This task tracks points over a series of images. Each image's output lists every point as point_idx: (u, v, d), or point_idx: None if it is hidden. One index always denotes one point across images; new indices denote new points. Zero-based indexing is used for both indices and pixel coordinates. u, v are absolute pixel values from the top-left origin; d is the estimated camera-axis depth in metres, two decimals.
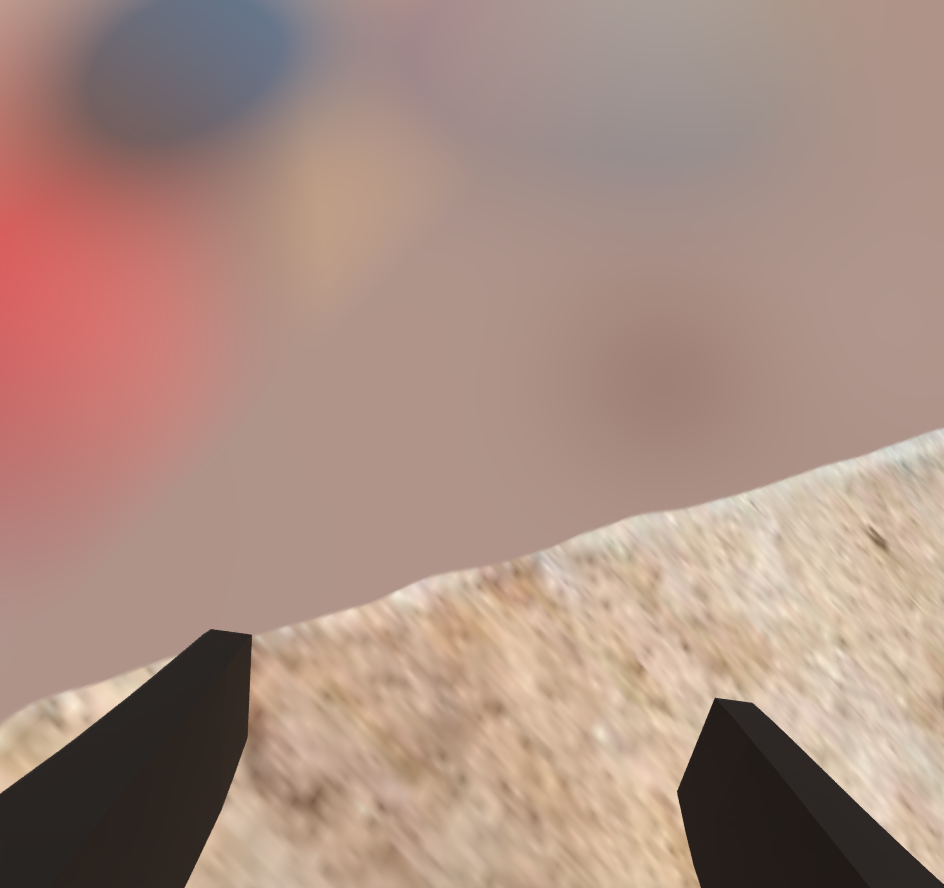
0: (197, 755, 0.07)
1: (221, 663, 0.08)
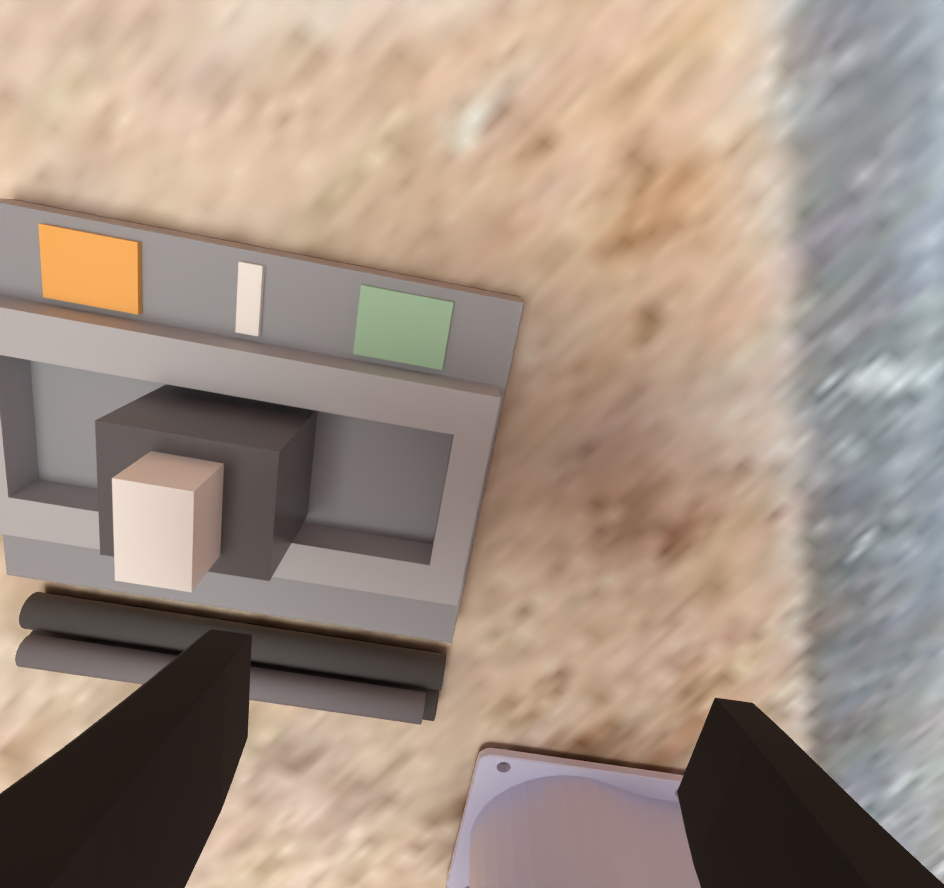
0: (197, 755, 0.07)
1: (221, 663, 0.08)
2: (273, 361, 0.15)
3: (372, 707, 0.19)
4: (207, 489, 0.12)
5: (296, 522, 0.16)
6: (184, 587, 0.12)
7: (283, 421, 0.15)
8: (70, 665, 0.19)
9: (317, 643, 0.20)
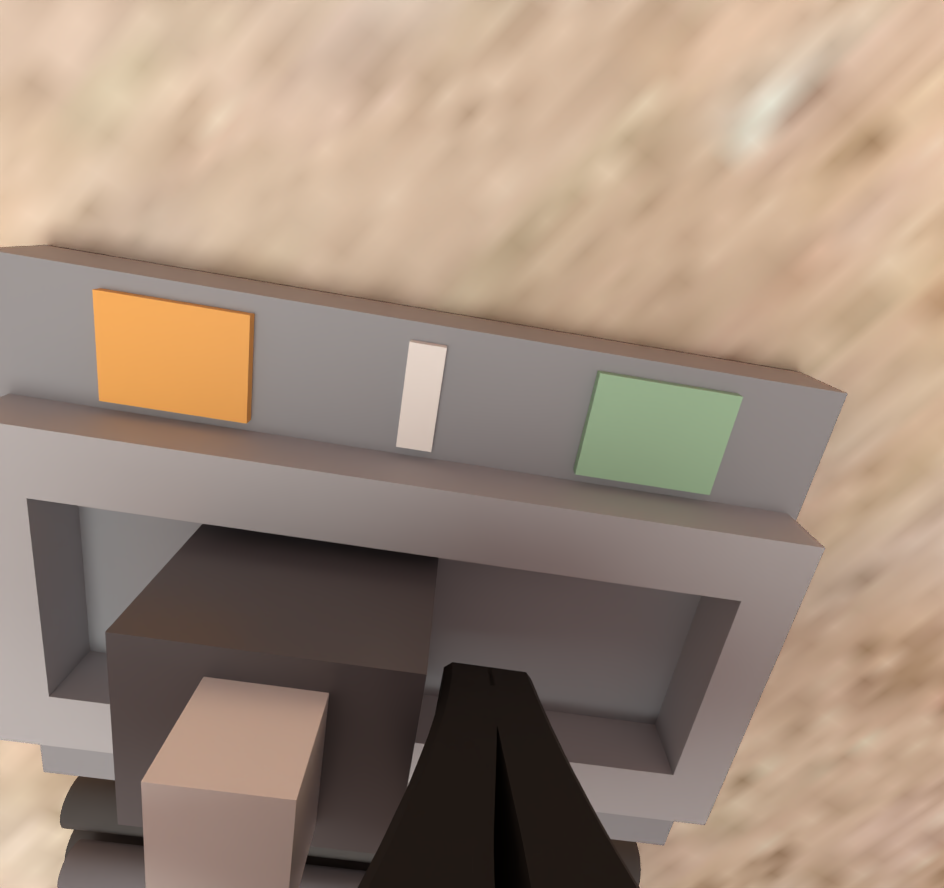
0: None
1: (489, 699, 0.08)
2: (470, 501, 0.09)
3: None
4: (311, 764, 0.07)
5: None
6: None
7: (404, 583, 0.09)
8: None
9: None
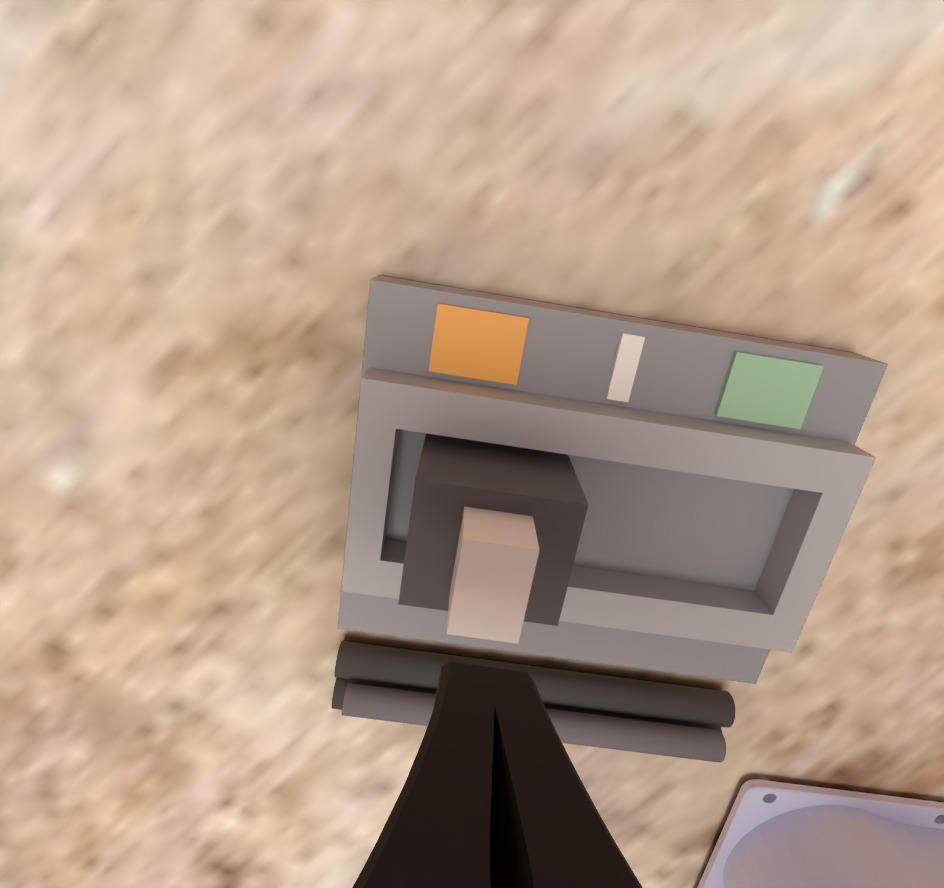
0: None
1: (486, 698, 0.08)
2: (661, 429, 0.15)
3: (677, 747, 0.20)
4: None
5: None
6: (512, 639, 0.13)
7: (556, 469, 0.15)
8: (393, 713, 0.19)
9: (611, 685, 0.21)
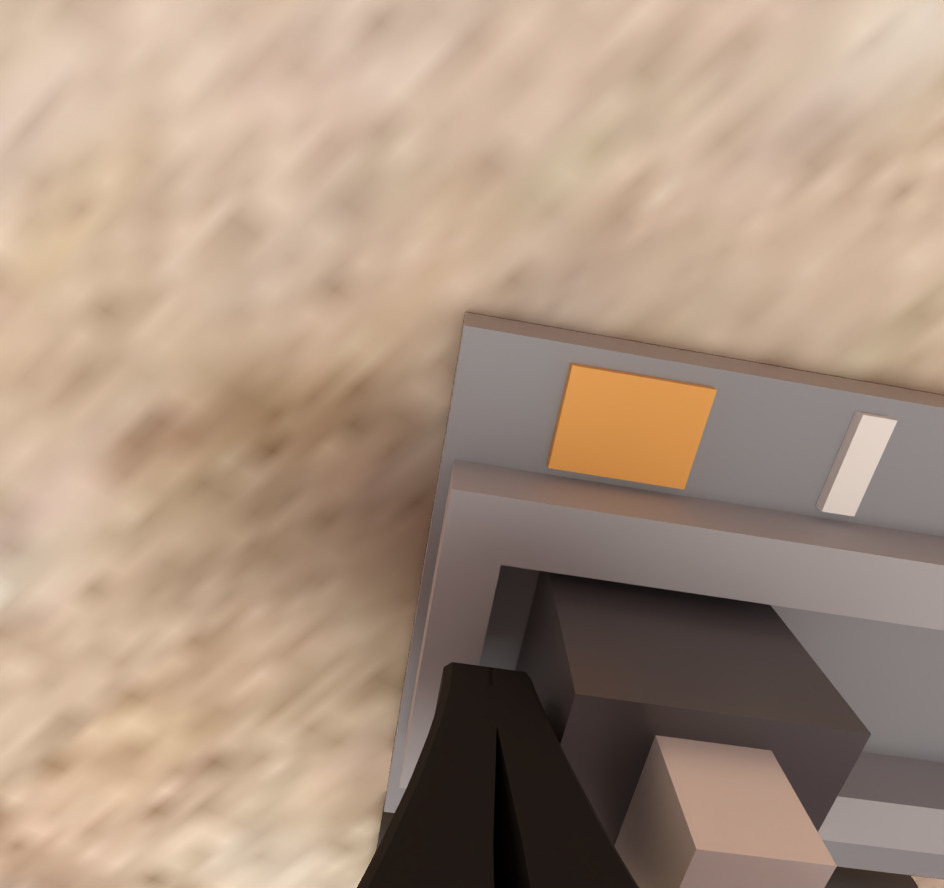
0: None
1: (489, 699, 0.08)
2: (925, 569, 0.10)
3: None
4: (796, 824, 0.07)
5: None
6: None
7: (767, 634, 0.09)
8: None
9: None
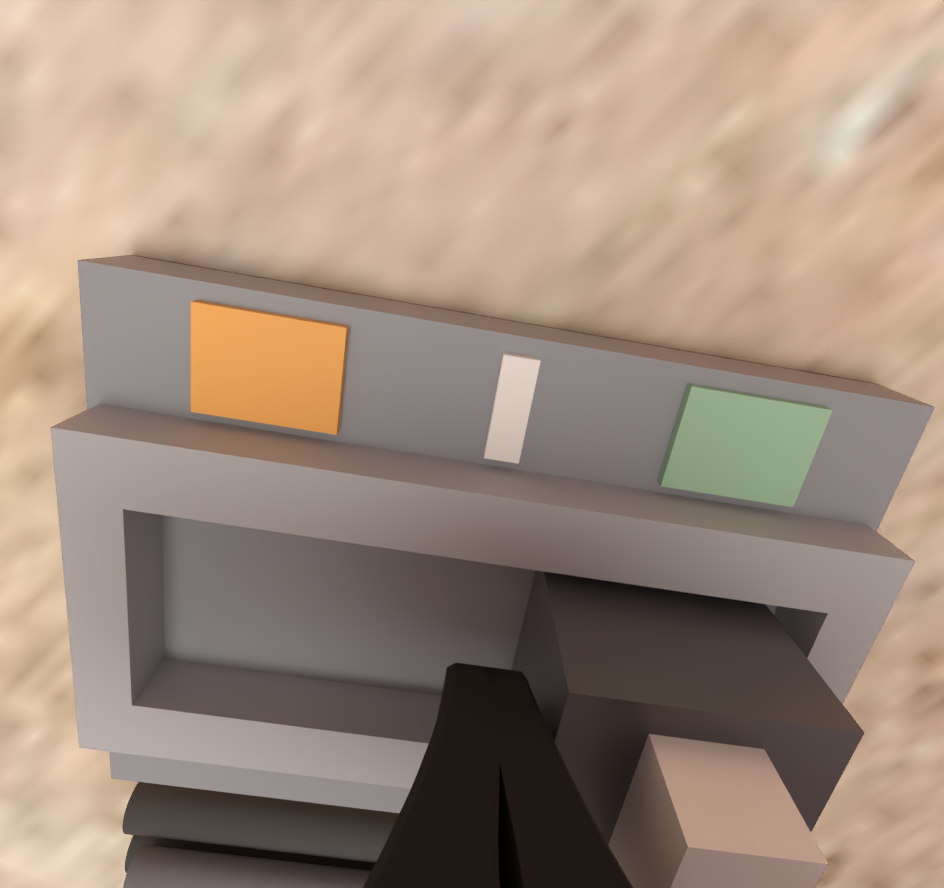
0: None
1: (492, 699, 0.08)
2: (565, 513, 0.09)
3: None
4: (789, 822, 0.07)
5: None
6: None
7: (762, 633, 0.09)
8: None
9: None
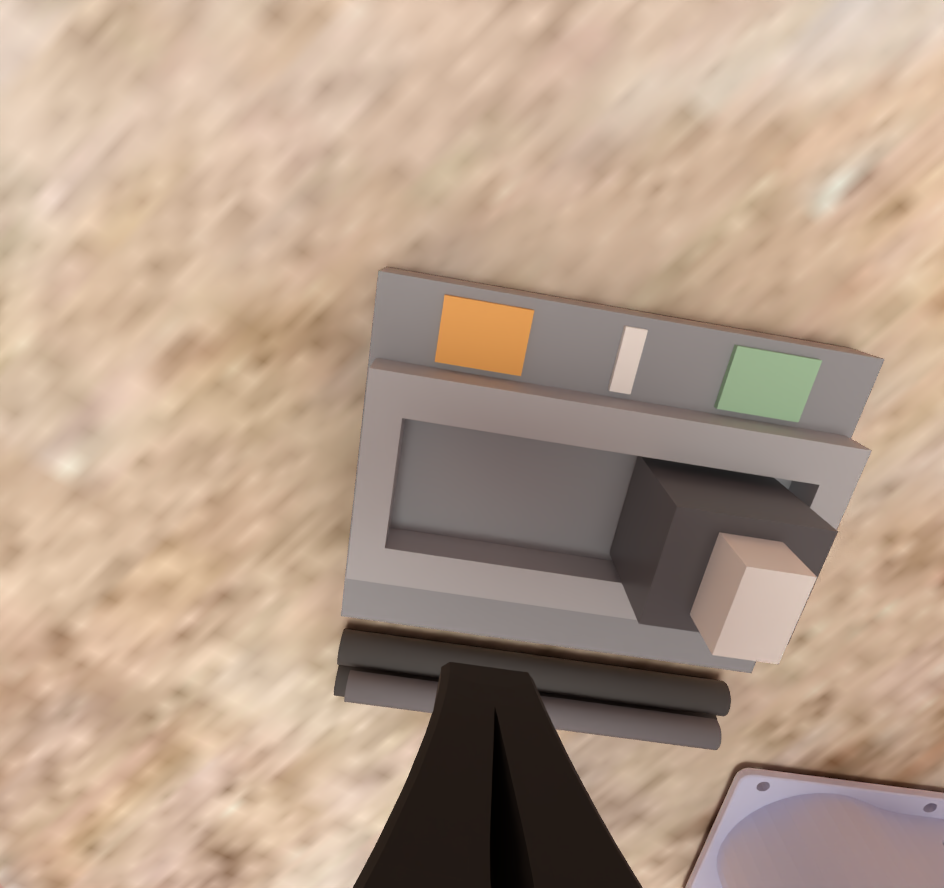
0: None
1: (486, 698, 0.08)
2: (663, 420, 0.15)
3: (674, 734, 0.20)
4: None
5: None
6: (774, 660, 0.14)
7: (779, 494, 0.16)
8: (395, 700, 0.20)
9: (610, 673, 0.21)
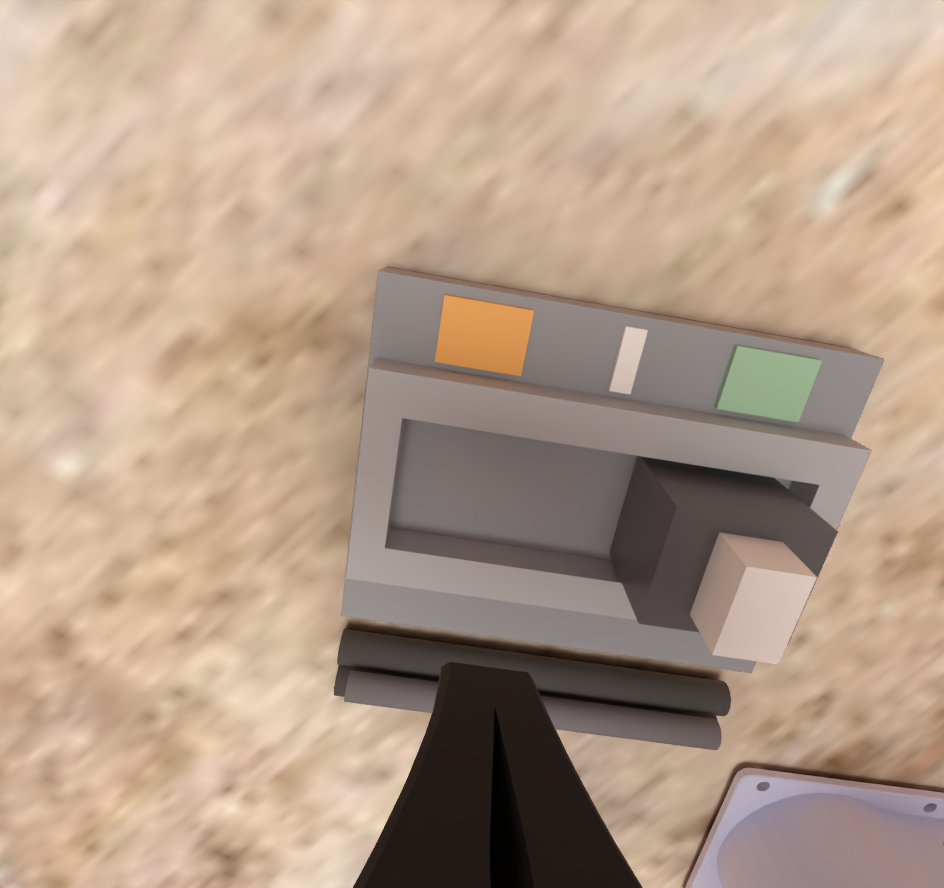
0: None
1: (486, 698, 0.08)
2: (663, 420, 0.15)
3: (674, 734, 0.20)
4: None
5: None
6: (774, 660, 0.14)
7: (779, 494, 0.16)
8: (395, 700, 0.20)
9: (610, 673, 0.21)
